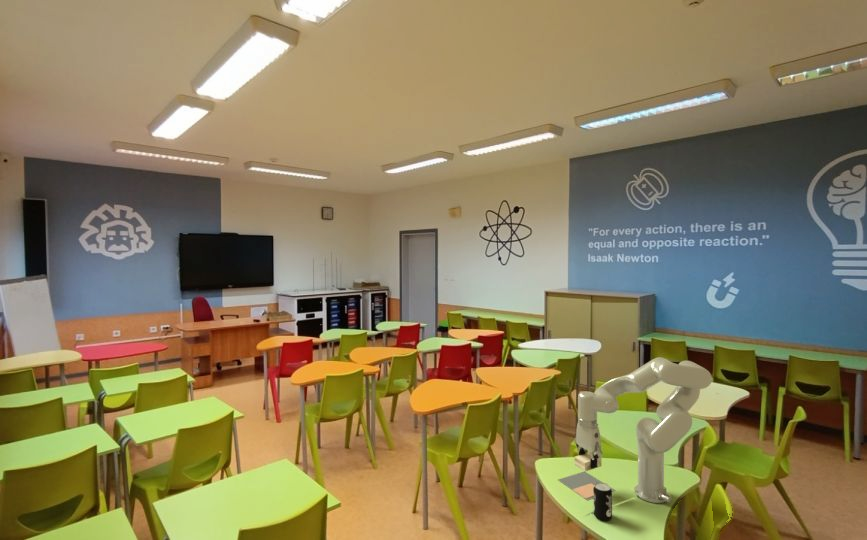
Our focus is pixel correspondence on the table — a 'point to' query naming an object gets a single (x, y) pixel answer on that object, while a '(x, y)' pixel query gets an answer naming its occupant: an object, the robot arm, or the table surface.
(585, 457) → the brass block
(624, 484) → the table surface
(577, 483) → the rubber mat
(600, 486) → the beverage can
